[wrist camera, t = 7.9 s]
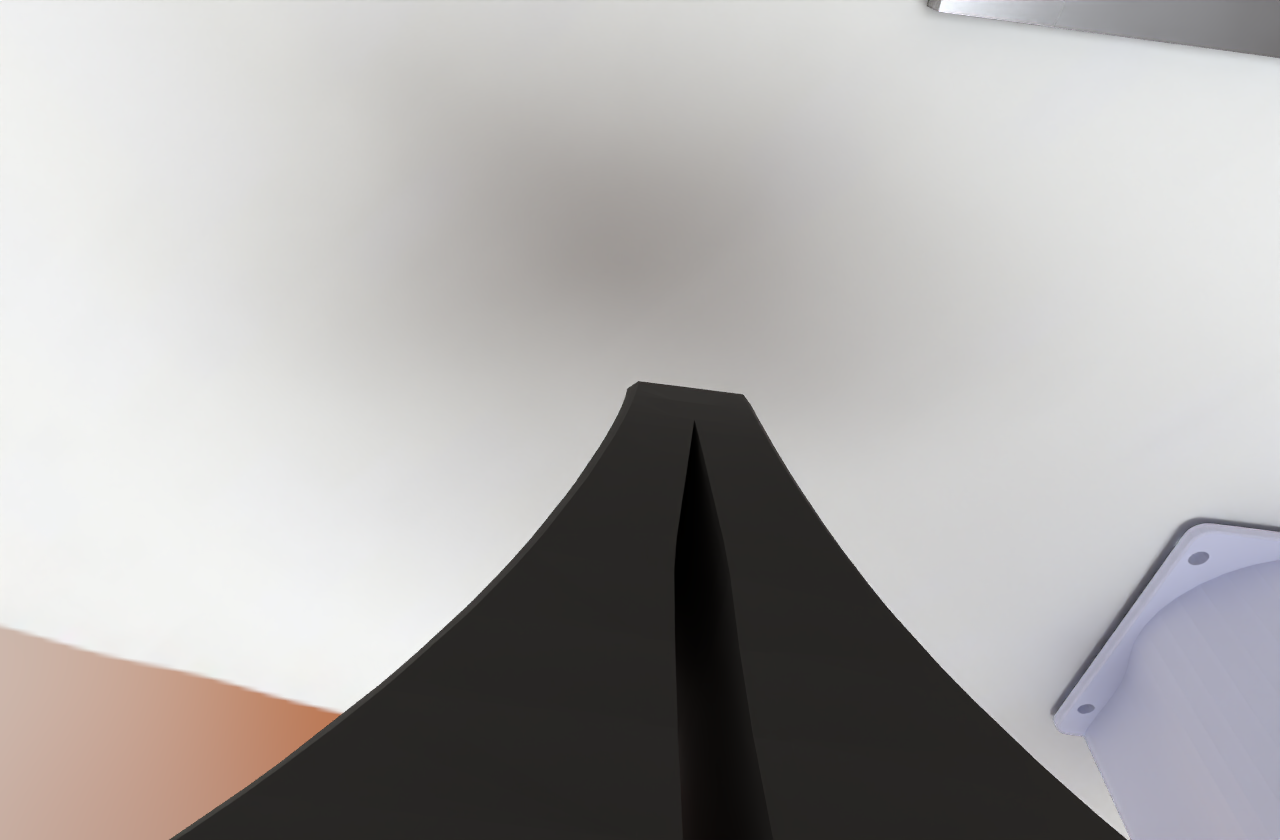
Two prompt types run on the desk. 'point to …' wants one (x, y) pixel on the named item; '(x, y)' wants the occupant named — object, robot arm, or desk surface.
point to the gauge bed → (1145, 19)
